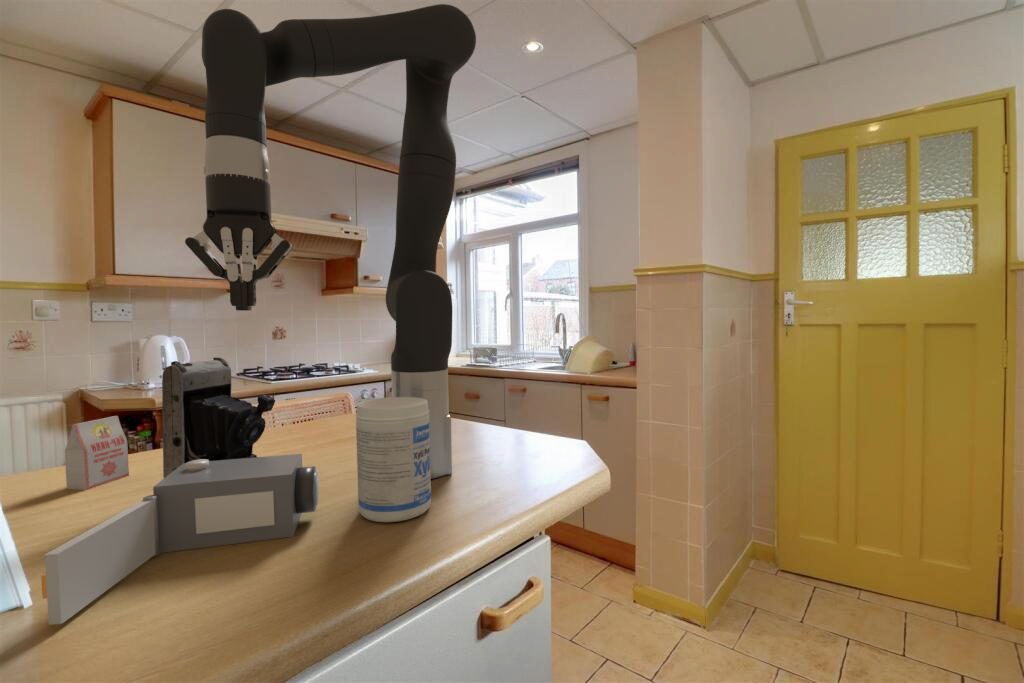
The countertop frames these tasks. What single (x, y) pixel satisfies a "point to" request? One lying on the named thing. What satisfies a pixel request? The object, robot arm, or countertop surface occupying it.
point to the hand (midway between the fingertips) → (243, 310)
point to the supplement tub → (393, 458)
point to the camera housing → (233, 501)
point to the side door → (99, 559)
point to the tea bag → (96, 454)
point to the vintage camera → (207, 415)
